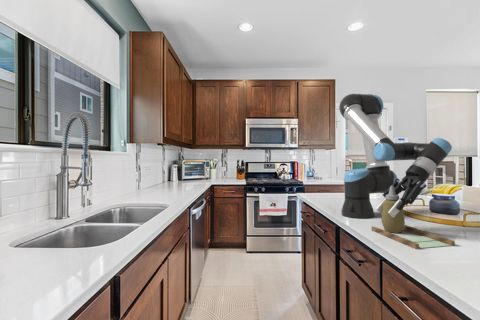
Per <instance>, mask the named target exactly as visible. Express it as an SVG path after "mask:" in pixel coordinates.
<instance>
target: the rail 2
mask: <svg viewBox="0 0 480 320" xmlns="http://www.w3.org/2000/svg"><path fill="white" fill-rule="evenodd" d="M403 230H405V231H408V232H411V233H414V234H417V235H420V236H425V237H428V238H431V239H434V240H437V241H440V242H442V243H445V244H448V245H450V247H452V246H453V247H454V246H456V243H455V242H456V241H455V240H453V239H450V238H447V237H444V236H440V235H438V234H434V233H431V232H428V231H425V230H423V229H420V228H417V227H412V226H411V225H407V224H404V227H403Z"/></svg>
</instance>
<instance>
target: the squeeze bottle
mask: <svg viewBox="0 0 480 320" xmlns="http://www.w3.org/2000/svg"><path fill="white" fill-rule="evenodd" d="M386 199H387V200H384V201H383V209H382V214H381V224H382V227H383V230H385V231H387V232H390V233H392V234H398V233H399V234H400V233H402V232H403V230H404V229H403V227H404V225H406V224H405V223H406V221H405V214H404V207H403V208H402V209H401V210H400V211H399V212H398V213H397V215H396V216H395V217H392V216H391V215H390V214H389V213H388V212H389V211H390V209H391V208H392V207H393V206H394V205H395V203H396V202H397V201H398V200H400V194H398V195H396V193H395V189H394V186H390V190H389V195H386Z"/></svg>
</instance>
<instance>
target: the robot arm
mask: <svg viewBox="0 0 480 320" xmlns="http://www.w3.org/2000/svg"><path fill="white" fill-rule="evenodd" d="M383 109H384V101H383V99H382V98H381V97H380V96H379V95H376V94H373V93H364V94H363V93H350V94H348V95H345V96H344V97H343V98H342V99H341V100H340V103H339V112H340V114H341V116H342V117H343V119H344V120H346V121H349V122H350V123H351V125H352V126H354V128H356V130H357V131H358V132H359V134H360V135H361V136H362V141H363V148H364V154H365V160H366V166H365V168H355V169H349V170H346V171H345V172H344V175H343V176H344V177H343V181H344V182H343V183H344V184H343V185H344V201H343V203H342V208H341V215H342V216H344V217H346V218H352V219H370V218H374V217H375V210H376V211H377V212H378V213H379V214H381V215H382V209H383V201H384V200H387V199H386V195H389V190H390V186H394V189H395V193H396V195H400V194H401V193H402V192H403V195H402V196H401V197H399V200H398V201H397V202H396V203H395V205H394V206H393V207H392V208H391V209H390V211H389V212H388V213H389V214H390V215H391V216H392V217H395V216H396V215H397V213H398V212H399V211H400V210H401V209H402V208H403V209H404V207H405V206H407V205H413V203H414V202H415V201H416V200H417V198H418V197H419V195H420V194H421V192H422V191H423V190H424V189H425V188H426V187H427V184H426V183H425V182H426V181H427V180H428V179H429V177H430V176H431V175H432V174H433V173H434V172H435V171H436V170H437V168H438V166H440V165H441V163H442V162H443V161H444V160H445V159H446V158H447V157H448V155H449V153H450V152H451V151H452V148H453V147H452V146H453V145H452V144H451V143H450V142H449V141H448V140H446V139H444V138H440V137H436V138H433V139H432V140H430V142H428V143H425V142H424V143H421V142H420V143H419V142H411V141H410V142H393V140H392V139H390V137H389V136H388V135H387V134H386V133H384V131H383V130H382V129H381V128H380V126H379V118H380V117H381V114H382V112H383ZM389 161H390V162H391V161H393V162H394V161H414V162H412V164H411V165H410V166H409V167H408V168H407V169H406V171H405V176H403V177H402V178H401V179H399V178H398V177H397V174H396V173H395V172H394V170H391V168H390V165H389V164H388V163H387V162H389ZM370 194H371V195H372V194H382V196H383V199H382V201H381V202H380V203H379V204H378V206H377V207H376V208H375V210H374V208H373V206H372V203H371V197H370Z"/></svg>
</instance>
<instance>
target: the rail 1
mask: <svg viewBox="0 0 480 320" xmlns="http://www.w3.org/2000/svg"><path fill="white" fill-rule="evenodd" d="M371 231H372V232H374V233H377V234H380V235H382V236H384V237H386V238H389V239H391V240H393V241H396V242H398V243H401V244H403V245H405V246H407V245H408V247H410V248H412V249H414V248H415V250H416V249H417V250H419V249H420V248H419V244H417V243H415V242H412V241H410V240H407V239H405V238H406V237H402V236H399V235H397V234H396V233H392V232H388V231H385V229H381V228H380V227H376V226H371Z"/></svg>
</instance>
